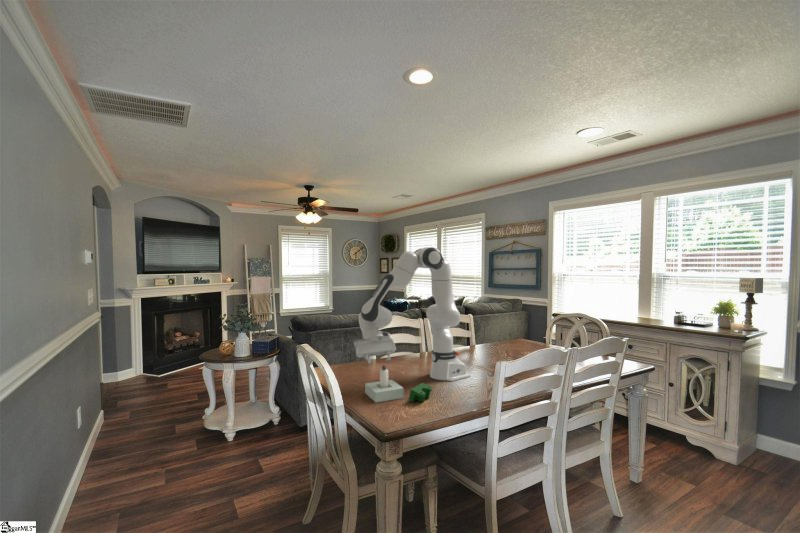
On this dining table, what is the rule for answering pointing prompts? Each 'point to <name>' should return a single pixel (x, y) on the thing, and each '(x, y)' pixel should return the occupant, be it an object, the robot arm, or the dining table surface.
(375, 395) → the housing
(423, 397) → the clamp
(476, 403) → the dining table surface
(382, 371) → the white bottle
